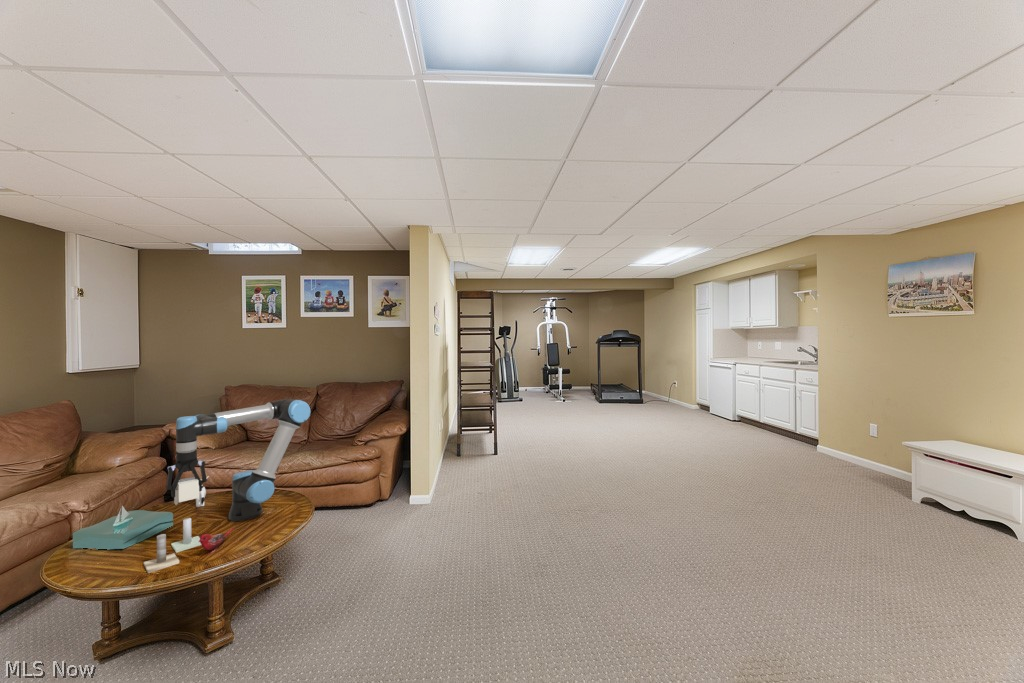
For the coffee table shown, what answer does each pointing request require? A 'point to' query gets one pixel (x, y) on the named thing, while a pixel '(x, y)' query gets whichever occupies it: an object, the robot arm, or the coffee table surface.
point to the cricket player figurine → (201, 496)
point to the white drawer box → (188, 489)
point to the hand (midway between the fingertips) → (186, 501)
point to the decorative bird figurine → (212, 540)
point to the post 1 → (161, 557)
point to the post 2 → (186, 538)
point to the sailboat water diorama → (123, 530)
